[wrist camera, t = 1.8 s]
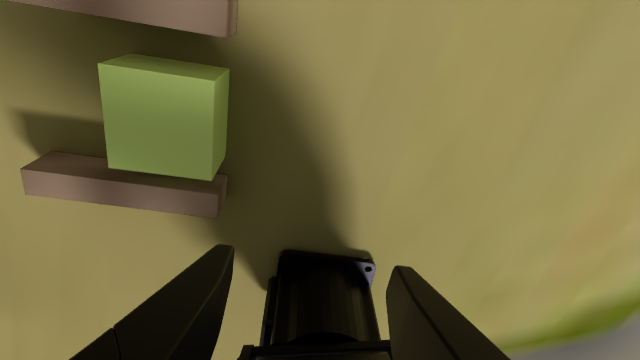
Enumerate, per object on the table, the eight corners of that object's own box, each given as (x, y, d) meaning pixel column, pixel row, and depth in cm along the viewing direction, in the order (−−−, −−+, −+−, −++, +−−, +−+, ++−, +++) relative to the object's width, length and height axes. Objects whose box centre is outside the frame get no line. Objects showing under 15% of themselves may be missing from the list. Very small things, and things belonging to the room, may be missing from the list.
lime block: (230, 67, 19) (214, 80, 16) (226, 154, 22) (211, 180, 18) (132, 52, 19) (97, 63, 16) (138, 142, 21) (108, 167, 18)
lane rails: (238, 0, 18) (227, 0, 16) (226, 196, 23) (216, 218, 20) (20, -39, 17) (-25, -45, 15) (55, 174, 22) (25, 194, 19)
